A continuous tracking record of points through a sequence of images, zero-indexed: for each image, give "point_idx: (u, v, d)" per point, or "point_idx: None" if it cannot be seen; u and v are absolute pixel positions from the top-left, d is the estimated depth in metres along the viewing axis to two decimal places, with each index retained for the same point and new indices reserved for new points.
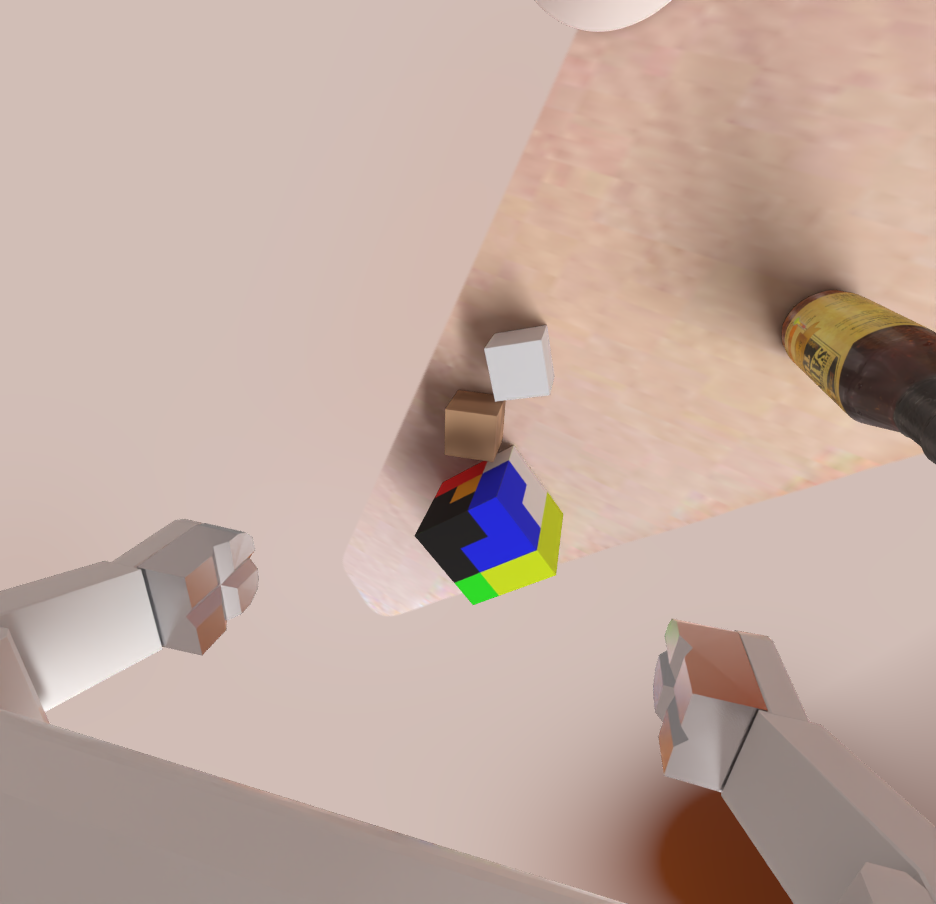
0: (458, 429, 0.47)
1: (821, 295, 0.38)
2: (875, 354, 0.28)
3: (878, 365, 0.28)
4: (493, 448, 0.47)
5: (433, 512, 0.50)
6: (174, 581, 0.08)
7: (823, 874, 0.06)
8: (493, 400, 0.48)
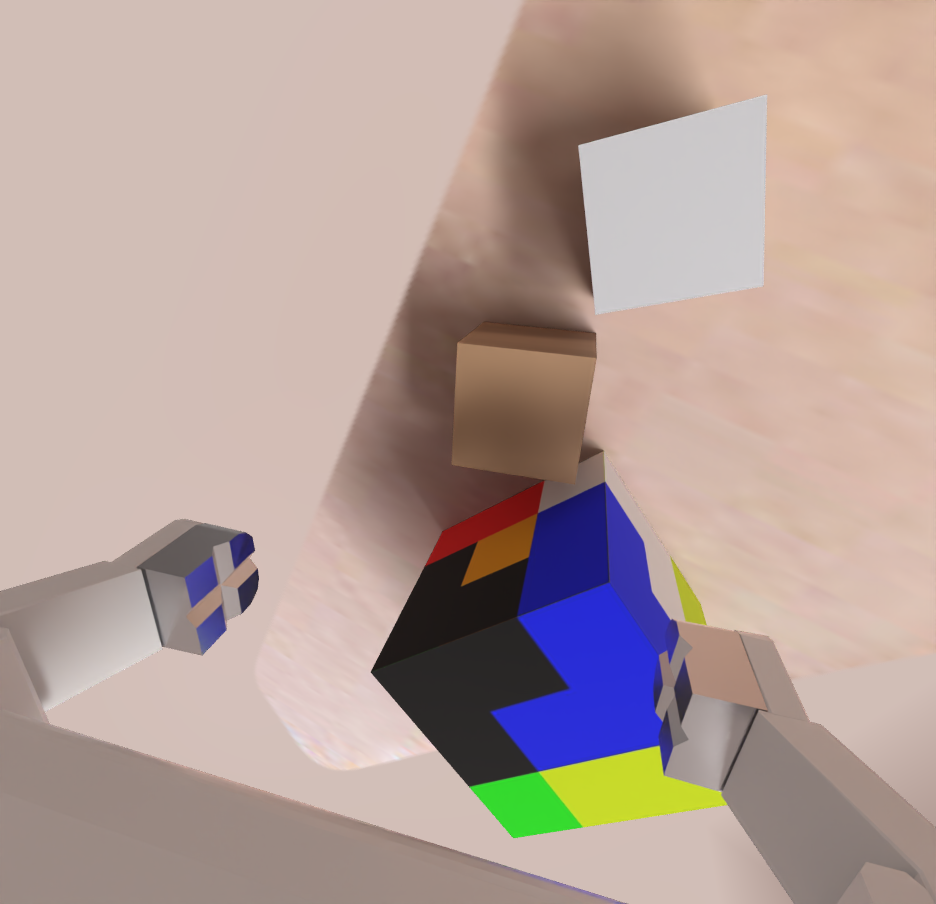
0: (489, 397, 0.18)
1: None
2: None
3: None
4: (578, 448, 0.18)
5: (421, 605, 0.21)
6: (174, 581, 0.08)
7: (823, 874, 0.06)
8: (571, 336, 0.20)
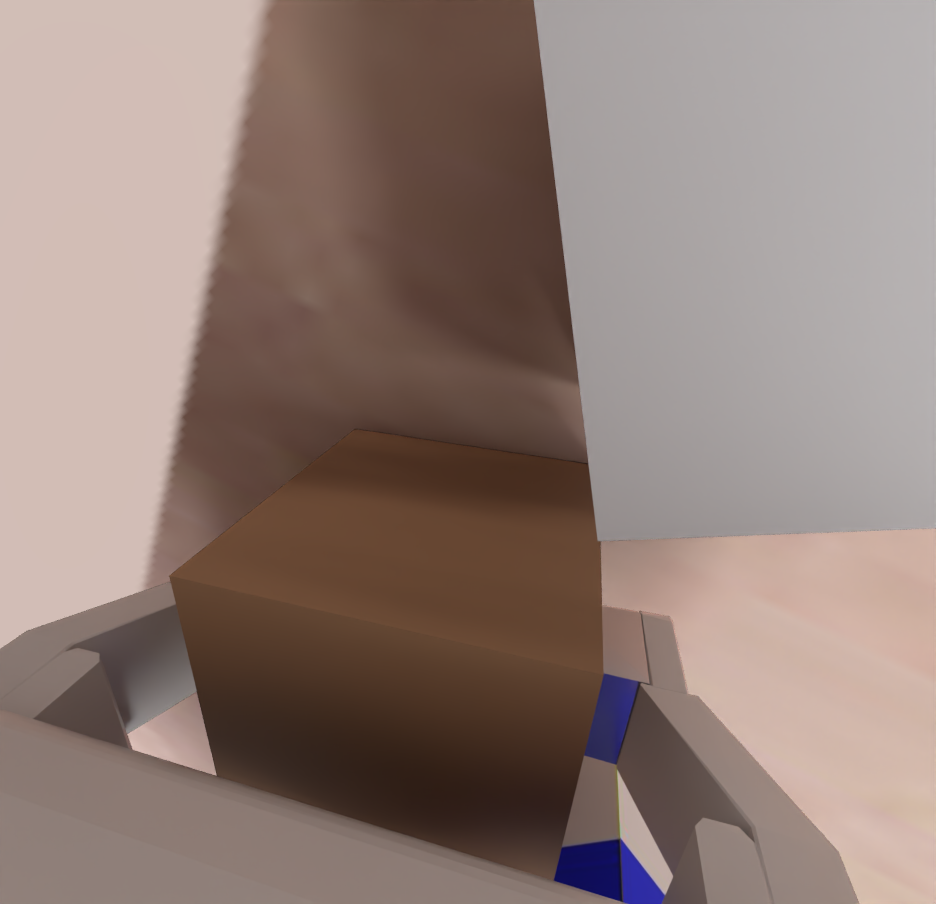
0: (287, 715, 0.06)
1: None
2: None
3: None
4: (547, 867, 0.06)
5: None
6: None
7: (687, 836, 0.06)
8: (538, 495, 0.08)
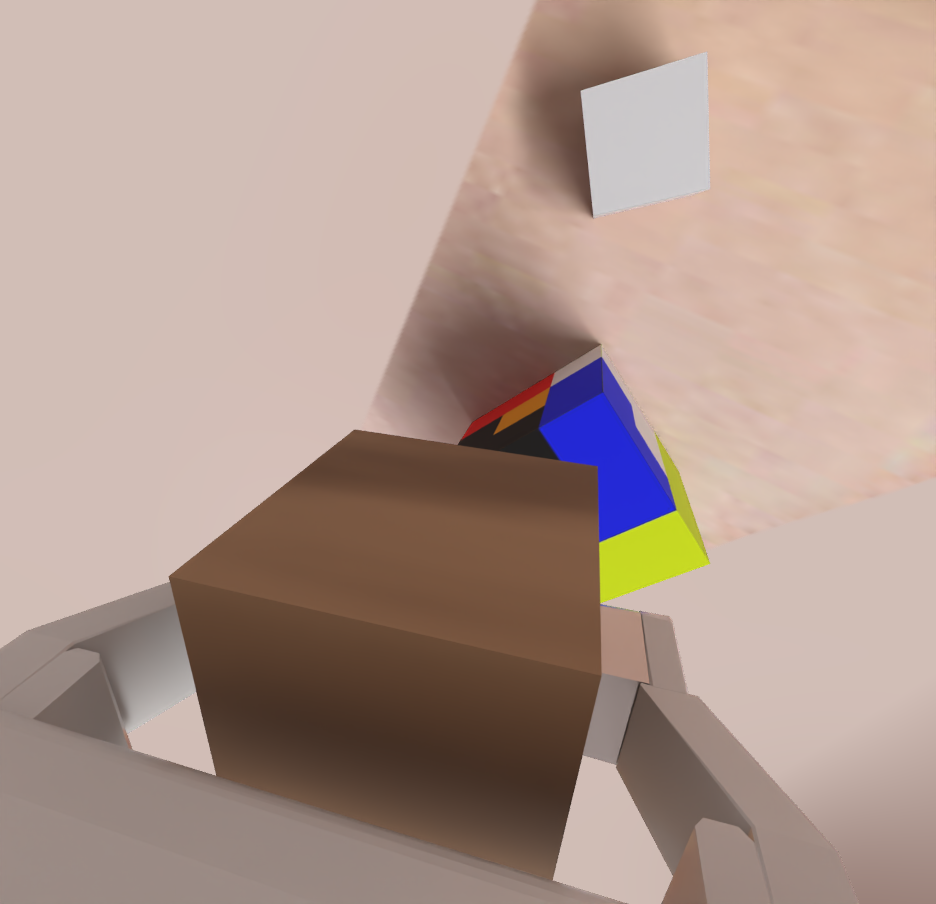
0: (285, 716, 0.06)
1: None
2: None
3: None
4: (546, 867, 0.06)
5: None
6: None
7: (687, 836, 0.06)
8: (537, 496, 0.08)
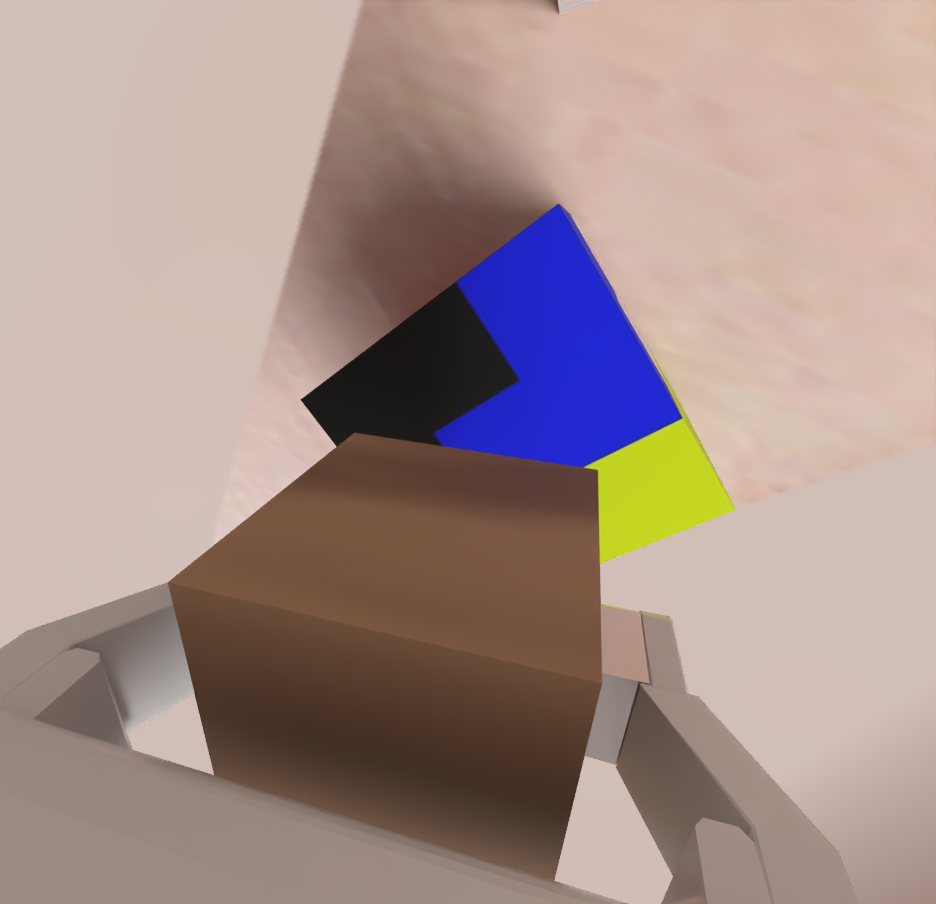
0: (285, 721, 0.06)
1: None
2: None
3: None
4: (546, 873, 0.06)
5: None
6: None
7: (687, 836, 0.06)
8: (537, 500, 0.08)
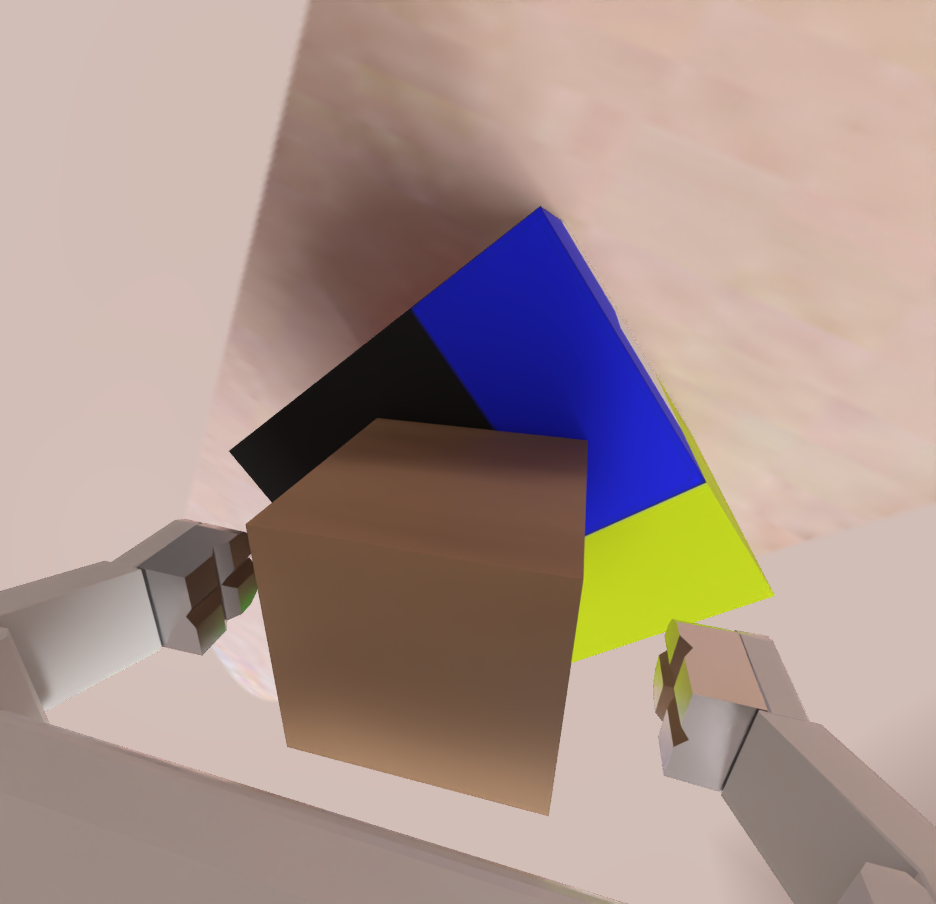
0: (337, 637, 0.08)
1: None
2: None
3: None
4: (550, 754, 0.08)
5: None
6: (174, 581, 0.08)
7: (823, 874, 0.06)
8: (535, 463, 0.10)
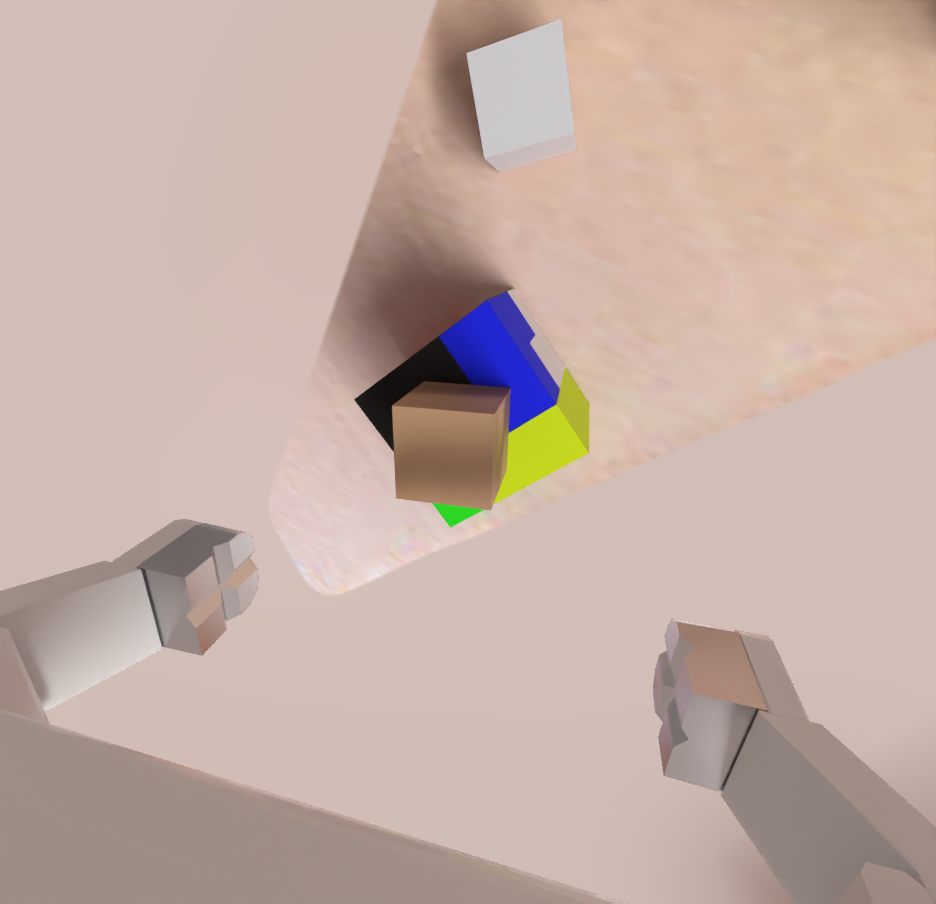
0: (419, 445, 0.24)
1: None
2: None
3: None
4: (489, 482, 0.24)
5: None
6: (174, 581, 0.08)
7: (823, 874, 0.06)
8: (487, 393, 0.26)
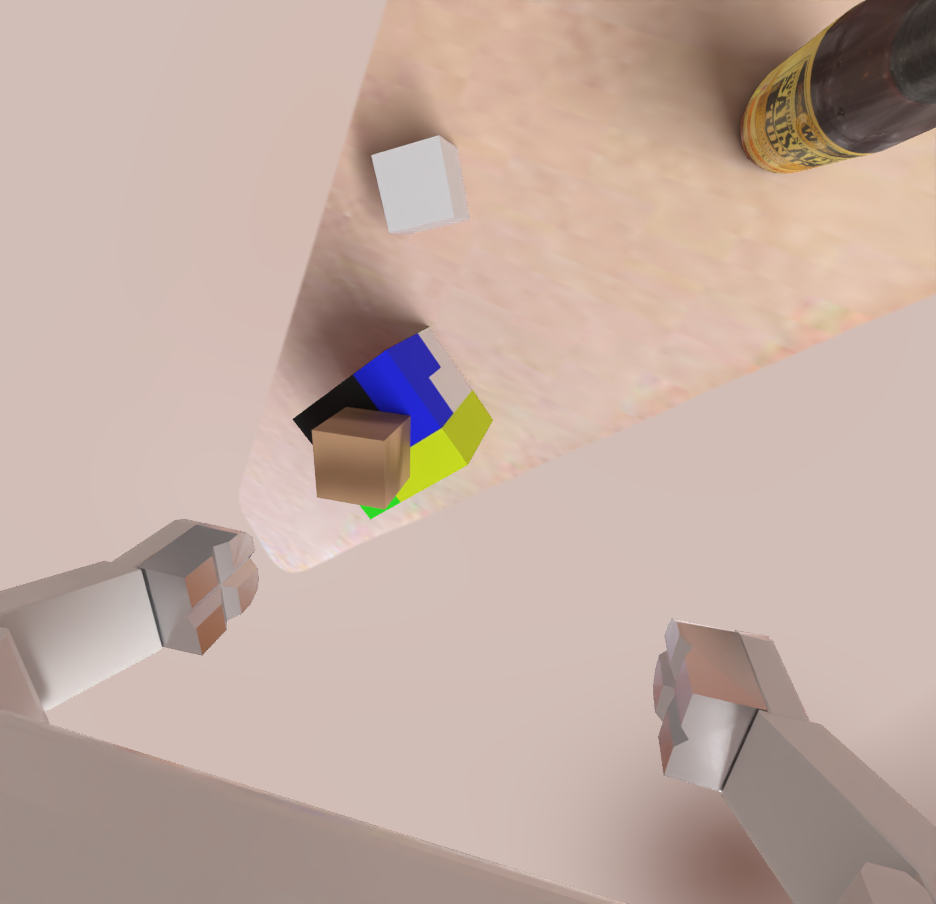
0: (332, 459, 0.32)
1: None
2: (858, 10, 0.20)
3: (863, 20, 0.20)
4: (383, 489, 0.32)
5: None
6: (174, 581, 0.08)
7: (823, 874, 0.06)
8: (389, 420, 0.34)
